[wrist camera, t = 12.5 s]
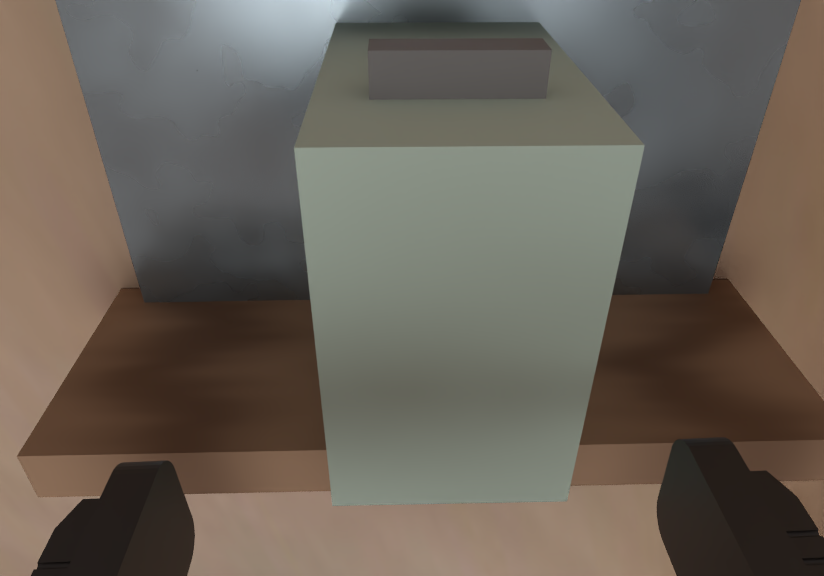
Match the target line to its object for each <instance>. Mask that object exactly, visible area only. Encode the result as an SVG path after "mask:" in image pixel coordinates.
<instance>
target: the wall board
mask: <svg viewBox="0 0 824 576" xmlns="http://www.w3.org/2000/svg"><path fill="white" fill-rule="evenodd" d="M716 437H725V438H728V439H729V440H731V441H732V443H733V444H734V445H735V447H736V448H737V450H738V451H739V453H740V455H741V456H742V458H743V460H744V461H745V463H746V465H747V467H748V468H749V470H750V471H763V470H767V471H768V472H769V473H770V474H771V475H772V476H774V477H775V478H776V479H777V480H778V481H808V480H824V401H823V400H822V398H821V397H820V396H819V395H818V393H817V392H816V391H815V389H814V388H813V387H812V386H811V384H810V383H809V382H808V381H807V379H806V378H805V377H804V375H803V374H802V373H801V372H800V370H799V369H798V368H797V367H796V365H795V364H794V363H793V361H792V360H791V359H790V358H789V356H788V355H787V354H786V352H785V351H784V350H783V349H782V347H781V346H780V345H779V344H778V342H777V341H776V340H775V338H774V337H773V336H772V335H771V333H770V332H769V331H768V330H767V328H766V327H765V326H764V324H763V323H762V322H761V321H760V319H759V318H758V317H757V315H756V314H755V313H754V312H753V310H752V309H751V308H750V307H749V305H748V304H747V303H746V301H745V300H744V299H743V298H742V296H741V295H740V294H739V293H738V291H737V290H736V289H735V287H734V286H733V285H732V284H731V282H730V281H729V280H728V279H714V280H712V283H711V286H710V289H709V292H708V294H646V295H612V297H611V302H610V306H609V311H608V315H607V320H606V325H605V329H604V334H603V338H602V343H601V347H600V352H599V357H598V361H597V366H596V370H595V375H594V379H593V384H592V389H591V393H590V398H589V402H588V407H587V411H586V416H585V421H584V425H583V430H582V434H581V439H580V443H579V448H578V453H577V457H576V462H575V466H574V471H573V475H572V480H571V485H570V486H577V485H623V484H662V481H663V478H664V474H665V470H666V466H667V463H668V459H669V455H670V452H671V448H672V445H673V443H674V442H675V441H676V440H678V439H694V438H716ZM17 457H18V459H19V461H20V463H21V465H22V467H23V469H24V471H25V473H26V475H27V477H28V479H29V481H30V483H31V484H32V486H33V488H34V490H35V492H36V494H37V496H38V497H69V496H101V495H102V493H103V490H104V488H105V486H106V484H107V482H108V480H109V477H110V475H111V473H112V471H113V470H114V468H115V467H116V466H117V465H118V464H120V463H123V462H144V461H166V460H168V461H170V462H171V463H172V464H173V465H174V468H175V470H176V473H177V476H178V479H179V482H180V484H181V487H182V490H183V493H184V494H207V493H254V492H300V491H331V487H330V478H329V469H328V460H327V450H326V441H325V432H324V422H323V413H322V404H321V394H320V385H319V376H318V366H317V357H316V348H315V338H314V329H313V320H312V311H311V301H310V300H269V301H206V302H144V300H143V296H142V293H141V290H140V288H134V289H121V290H120V292H119V293H118V295H117V296H116V298H115V300H114V301H113V303H112V304H111V306H110V308H109V309H108V311H107V312H106V314H105V316H104V317H103V319H102V321H101V322H100V324H99V325H98V327H97V329H96V330H95V332H94V333H93V335H92V337H91V338H90V340H89V341H88V343H87V345H86V346H85V348H84V349H83V351H82V353H81V354H80V356H79V357H78V359H77V361H76V362H75V364H74V366H73V367H72V369H71V370H70V372H69V374H68V375H67V377H66V378H65V380H64V382H63V383H62V385H61V386H60V388H59V390H58V391H57V393H56V394H55V396H54V398H53V399H52V401H51V402H50V404H49V406H48V407H47V409H46V411H45V412H44V414H43V415H42V417H41V419H40V420H39V422H38V423H37V425H36V427H35V428H34V430H33V431H32V433H31V435H30V436H29V438H28V439H27V441H26V443H25V444H24V446H23V447H22V449H21V451H20V452H19V454H18V456H17Z"/></svg>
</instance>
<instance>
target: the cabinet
mask: <svg viewBox="0 0 824 576" xmlns="http://www.w3.org/2000/svg"><path fill="white" fill-rule="evenodd" d="M644 146H645V145H644V144H643V143H642V141H641V140H640V139H639V138H638V137H637V136H636V134H635V133H634V132H633V131H632V130H631V129H630V127H629V126H628V125H627V124H626V123H625V122H624V120H623V119H622V118H621V117H620V116H619V115H618V114H617V112H616V111H615V110H614V109H613V108H612V107H611V105H610V104H609V103H608V102H607V101H606V100H605V98H604V97H603V96H602V95H601V94H600V93H599V91H598V90H597V89H596V88H595V87H594V86H593V84H592V83H591V82H590V81H589V80H588V79H587V77H586V76H585V75H584V74H583V73H582V72H581V70H580V69H579V68H578V67H577V66H576V65H575V63H574V62H573V61H572V60H571V59H570V58H569V56H568V55H567V54H566V53H565V52H564V51H563V49H562V48H561V47H560V46H559V45H558V44H557V42H556V41H555V40H554V39H553V38H552V37H551V35H550V34H549V33H548V32H547V31H546V30H545V28H544V27H543V26H542V25H541V24H540V23H539V22H417V23H336V24H335V27H334V30H333V33H332V36H331V39H330V42H329V45H328V48H327V51H326V54H325V57H324V60H323V63H322V66H321V69H320V72H319V75H318V78H317V81H316V84H315V87H314V90H313V93H312V95H311V98H310V101H309V104H308V107H307V110H306V113H305V116H304V119H303V122H302V125H301V128H300V131H299V134H298V137H297V140H296V143H295V146H294V152H295V162H296V171H297V180H298V189H299V199H300V208H301V217H302V227H303V236H304V245H305V255H306V264H307V273H308V283H309V292H310V301H311V311H312V320H313V329H314V338H315V348H316V357H317V366H318V376H319V385H320V394H321V404H322V413H323V422H324V432H325V441H326V450H327V460H328V469H329V478H330V487H331V497H332V506H350V505H402V504H454V503H506V502H558V501H567V498H568V494H569V489H570V485H571V480H572V475H573V471H574V466H575V462H576V457H577V453H578V448H579V443H580V439H581V434H582V430H583V425H584V421H585V416H586V411H587V407H588V402H589V398H590V393H591V389H592V384H593V379H594V375H595V370H596V366H597V361H598V357H599V352H600V347H601V343H602V338H603V334H604V329H605V325H606V320H607V315H608V311H609V306H610V302H611V297H612V293H613V288H614V283H615V279H616V274H617V270H618V265H619V261H620V256H621V251H622V247H623V242H624V238H625V233H626V229H627V224H628V219H629V215H630V210H631V206H632V201H633V197H634V192H635V187H636V183H637V178H638V174H639V169H640V165H641V160H642V155H643V151H644Z"/></svg>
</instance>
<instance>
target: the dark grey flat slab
mask: <svg viewBox="0 0 824 576" xmlns="http://www.w3.org/2000/svg"><path fill="white" fill-rule="evenodd" d="M55 1H56V4H57V7H58V11H59V14H60V18H61V21H62V24H63V28H64V31H65V35H66V38H67V41H68V45H69V48H70V52H71V55H72V58H73V62H74V65H75V69H76V72H77V75H78V79H79V82H80V86H81V89H82V92H83V96H84V99H85V103H86V106H87V109H88V113H89V116H90V120H91V123H92V126H93V130H94V133H95V137H96V140H97V143H98V147H99V150H100V154H101V157H102V160H103V164H104V167H105V171H106V174H107V177H108V181H109V184H110V188H111V191H112V194H113V198H114V201H115V205H116V208H117V211H118V215H119V218H120V222H121V225H122V228H123V232H124V235H125V239H126V242H127V245H128V249H129V252H130V256H131V259H132V262H133V266H134V269H135V273H136V276H137V279H138V283H139V286H140V290H141V293H142V296H143V300H144V302H206V301H269V300H310V292H309V283H308V273H307V264H306V255H305V245H304V236H303V227H302V217H301V208H300V199H299V189H298V180H297V171H296V162H295V152H294V146H295V143H296V140H297V137H298V134H299V131H300V128H301V125H302V122H303V119H304V116H305V113H306V110H307V107H308V104H309V101H310V98H311V95H312V93H313V90H314V87H315V84H316V81H317V78H318V75H319V72H320V69H321V66H322V63H323V60H324V57H325V54H326V51H327V48H328V45H329V42H330V39H331V36H332V33H333V30H334V27H335V24H336V23H417V22H539V23H540V24H541V25H542V26H543V27H544V28H545V30H546V31H547V32H548V33H549V34H550V35H551V37H552V38H553V39H554V40H555V41H556V42H557V44H558V45H559V46H560V47H561V48H562V49H563V51H564V52H565V53H566V54H567V55H568V56H569V58H570V59H571V60H572V61H573V62H574V63H575V65H576V66H577V67H578V68H579V69H580V70H581V72H582V73H583V74H584V75H585V76H586V77H587V79H588V80H589V81H590V82H591V83H592V84H593V86H594V87H595V88H596V89H597V90H598V91H599V93H600V94H601V95H602V96H603V97H604V98H605V100H606V101H607V102H608V103H609V104H610V105H611V107H612V108H613V109H614V110H615V111H616V112H617V114H618V115H619V116H620V117H621V118H622V119H623V120H624V122H625V123H626V124H627V125H628V126H629V127H630V129H631V130H632V131H633V132H634V133H635V134H636V136H637V137H638V138H639V139H640V140H641V141H642V143H643V144H644V145H645V146H644V151H643V155H642V160H641V165H640V169H639V174H638V178H637V183H636V187H635V192H634V197H633V201H632V206H631V210H630V215H629V219H628V224H627V229H626V233H625V238H624V242H623V247H622V251H621V256H620V261H619V265H618V270H617V274H616V279H615V283H614V288H613V293H612V295H646V294H708V292H709V289H710V286H711V283H712V280H713V276H714V273H715V270H716V267H717V264H718V261H719V258H720V254H721V251H722V248H723V245H724V242H725V239H726V235H727V232H728V229H729V226H730V223H731V220H732V216H733V213H734V210H735V207H736V204H737V201H738V198H739V194H740V191H741V188H742V185H743V182H744V179H745V175H746V172H747V169H748V166H749V163H750V160H751V156H752V153H753V150H754V147H755V144H756V141H757V137H758V134H759V131H760V128H761V125H762V122H763V119H764V115H765V112H766V109H767V106H768V103H769V100H770V96H771V93H772V90H773V87H774V84H775V81H776V77H777V74H778V71H779V68H780V65H781V62H782V59H783V55H784V52H785V49H786V46H787V43H788V40H789V36H790V33H791V30H792V27H793V24H794V21H795V17H796V14H797V11H798V8H799V5H800V2H801V0H55Z"/></svg>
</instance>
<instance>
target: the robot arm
mask: <svg viewBox="0 0 824 576" xmlns="http://www.w3.org/2000/svg"><path fill="white" fill-rule="evenodd" d="M657 519H658V525H659V530H660V534H661V537H662V540H663V543H664V545H665V548H666V550H667V553H668V555H669V558H670V560H671V563H672V565H673V568H674V570H675V573H676V575H677V576H824V538H823V536H819V533H818V528H817V527H816V525H815V524H814V522H813V521H812V519H811V517H810V516H809V514H808V513H807V511H806V510H805V508H804V506H803V505H802V503H801V502H800V500H799V499H798V497H797V496H795V495H794V494H793V493H792V492H791V491H790V490H789V489H787V488H786V487H785V486H784V485H783V484H782V483H781V482H779V481H778V480H777V479H776V478H775V477H774V476H772V475H771V474H770V473H769V472H768V471H767V470H763V471H750V470H749V468H748V467H747V465H746V463H745V461H744V460H743V458H742V456H741V455H740V453H739V451H738V450H737V448H736V447H735V445H734V444H733V443H732V441H731V440H729V439H728V438H725V437H716V438H694V439H678V440H676V441H675V442H674V443H673V445H672V448H671V452H670V455H669V459H668V463H667V466H666V470H665V474H664V478H663V481H662V485H661V489H660V492H659V496H658V500H657ZM194 538H195V533H194V522H193V518H192V515H191V512H190V510H189V507H188V504H187V501H186V498H185V496H184V493H183V490H182V487H181V484H180V482H179V479H178V476H177V473H176V470H175V468H174V465H173V464H172V463H171V462H170V461H168V460H166V461H144V462H123V463H120V464H118V465H117V466H116V467H115V468H114V470H113V471H112V473H111V475H110V477H109V480H108V482H107V484H106V486H105V488H104V490H103V493H102V495H101V497H100V499H83V500H82V501H81V502H80V503H79V504H78V505H77V506H76V507H75V508H74V509H73V510H72V511H71V512H70V513H69V514H68V515H67V516H66V518H65V519H64V520H63V521H62V522H61V523H60V524H59V525H58V526H57V527H56V528H55V529H54V531H53V533H52V535H51V537H50V539H49V541H48V543H47V545H46V547H45V549H44V551H43V553H42V555H41V557H40V559H39V561H38V567H37V569H36V570H34V571H33V573H32V575H31V576H187V574H188V570H189V567H190V563H191V560H192V555H193V550H194Z"/></svg>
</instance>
